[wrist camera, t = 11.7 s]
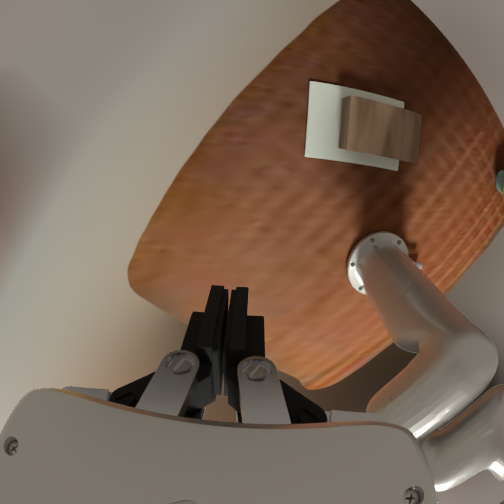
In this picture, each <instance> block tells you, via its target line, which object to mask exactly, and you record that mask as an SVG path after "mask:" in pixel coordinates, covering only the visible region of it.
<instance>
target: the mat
mask: <svg viewBox="0 0 504 504" xmlns="http://www.w3.org/2000/svg"><path fill="white" fill-rule="evenodd" d="M350 95H353V96H357V97H362V98H366V99H370V100H374V101H378V102H382V103H386V104H389V105H393V106H396V107H400V108H403V109H404V102H402V101H399V100H395V99H392V98H389V97H385V96H381V95H378V94H374V93H370V92H366V91H362V90H357V89H353V88H348V87H343V86H338V85H332V84H327V83H320V82H314V81H309V99H308V115H307V129H306V142H305V154H304V157H311V158H319V159H328V160H335V161H342V162H349V163H355V164H362V165H368V166H373V167H379V168H384V169H389V170H394V171H398V165H399V160H397V159H392V158H388V157H383V156H378V155H373V154H367V153H362V152H356V151H350V150H345V149H340V148H339V138H340V126H341V112H342V98H344V97H347V96H350Z"/></svg>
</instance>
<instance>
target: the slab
mask: <svg viewBox="0 0 504 504" xmlns="http://www.w3.org/2000/svg"><path fill="white" fill-rule="evenodd" d="M421 121H422V114H419V113H416V112H413V111H409V110H406V109H403V108H400V107H396V106H393V105H389V104H386V103H382V102H378V101H374V100H370V99H366V98H362V97H357V96H353V95H350V96H347V97H344V98H342V112H341V126H340V138H339V148H340V149H345V150H350V151H356V152H362V153H367V154H373V155H378V156H383V157H388V158H392V159H397V160H401V161H406V162H410V163H414V164H417V161H418V153H419V144H420V134H421Z"/></svg>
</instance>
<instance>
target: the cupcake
mask: <svg viewBox="0 0 504 504" xmlns="http://www.w3.org/2000/svg"><path fill="white" fill-rule="evenodd" d="M496 187H497V189H498V190H499V191H500V192H501V193H502V194H503V197H504V170H501V171H499V172H498V174H497V176H496Z"/></svg>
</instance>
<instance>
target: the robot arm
mask: <svg viewBox="0 0 504 504" xmlns="http://www.w3.org/2000/svg"><path fill="white" fill-rule="evenodd" d="M371 238H372V239H371ZM422 266H423V265H422V262H414V261H413V260H412V259H411V258H410V257H409V253H408V248H407V246H406V244H405V243H404V241H403V240H402V239H401V238H400V237H399V236H397V235H396V234H394V233H391V232H388V231H379V232H375V233H372V234H369V235H368V236H366V237H364V238H363V239H362V240H360V241H359V242H358V243H357V244H356V245H355V247H354V248H353V250H352V251H351V253H350V255H349V258H348V261H347V268H346V270H347V276H348V279H349V281H350V283H351V285H352V286H353V287H354V289H356V290H357V291H358V292H360V293H363V294H367V295H368V297H369V299H370V301H371V302H372V304H373V306H374V308H375V309H376V311H377V313H378V315H379V316H380V318H381V320H382V322H383V324H384V326H385V327H386V329H387V331H388V333H389V335H390V337H391V338H392V340H393V341H394V343H395V344H396V345H397V346H399V347H400V348H402V349H404V350H407V351H409V352H415V353H418V355H417V356H416V357H415V358H414V359H413V360H412V361H411V362H410V363H409V365H408V366H407V367H406V368H405V369H403V370H402V371H401V372H400V373H399V374H398V375H397V376H396V377H395V378H393V379H392V380H391V381H390V382H389V383H388V384H386V385H385V386H384V387H383V388H382V389H381V390H379V391H378V392H377V393H376V394H375V395H374V396H373V398H372V399H371V400H370V402H369V404H368V407H367V413H359V412H346V411H338V410H332V411H331V412H326V411H324V410H323V409H322V408H320V407H319V406H318V405H316V404H315V403H313V402H312V401H310V400H309V399H307V398H306V397H304V396H303V395H302V394H300V393H298V392H297V391H296V390H294V389H293V388H291V387H290V386H289V385H287V384H286V383H284V382H283V381H282V380H280V379H279V376H278V373H277V369H276V366H275V364H274V363H273V362H272V361H271V360H269V359H267V358H265V341H264V316H248V315H247V305H248V287H237V288H236V290H232V292H231V298H230V305H229V312H228V289H224V286H217V285H212V286H211V290H210V294H209V297H208V301H207V305H206V308H205V312H193V313H192V315H191V318H190V321H189V325H188V328H187V331H186V334H185V337H184V340H183V344H182V347H181V350H176V351H173V352H170V353H169V354H167V355H166V356H165V357H164V358H163V360H162V361H161V363H160V365H159V367H158V368H157V370H156V372H153V373H151V374H149V375H147V376H145V377H143V378H141V379H138V380H136V381H134V382H132V383H129V384H128V385H125V386H123V387H121V388H118V389H117V390H115V391H114V392H109V390H108V389H92V388H81V387H72V386H71V387H65V388H63V389H55V388H42V389H36V390H33V391H31V392H29V393H27V394H26V395H25V396H24V397H23V398H22V399H21V400H20V402H19V403H18V405H17V406H16V407H15V409H14V410H13V412H12V413H11V415H10V417H9V419H8V420H7V422H6V424H5V426H4V428H3V430H2V432H1V434H0V504H439V502H438V497H437V493H436V491H445V490H448V489H451V488H453V487H455V486H457V485H459V484H460V483H462V482H464V481H465V480H467V479H468V478H470V477H472V476H474V475H475V474H477V473H478V472H480V471H482V470H485V469H488V470H490V471H491V472H492V474H493V475H494V476H495V477H496V479H497V480H499V481H502V482H504V384H502V385H497V386H495V387H493V388H492V389H490V390H489V391H488V392H486V393H485V394H484V395H483V396H481V397H480V398H479V399H478V400H477V401H476V402H475V403H473V404H472V405H471V406H470V407H469V408H467V409H466V410H465V411H464V412H463V413H462V414H460V415H459V416H458V417H457V418H456V419H454V420H453V421H452V422H450V423H449V424H448V425H447V426H445V427H444V428H442V429H438V428H439V427H441V426H442V425H444V424H445V423H446V422H448V421H449V420H451V419H452V418H453V417H455V416H456V415H457V414H458V413H460V412H461V411H462V410H463V409H464V408H465V407H467V406H468V405H469V404H470V403H471V402H472V401H473V400H474V399H475V398H476V397H478V396H479V395H480V394H481V392H482V391H483V390H484V389H485V388H486V386H487V385H488V384H489V383H490V381H491V379H492V378H493V376H494V374H495V371H496V369H497V365H498V352H497V350H496V347H495V345H494V343H493V342H492V340H491V339H490V338H489V337H488V336H487V335H486V334H485V333H484V332H483V331H482V330H481V329H480V328H479V327H477V326H476V325H475V324H474V323H473V322H471V321H470V320H469V319H468V318H467V317H466V316H465V315H463V314H462V313H461V312H460V311H459V310H458V309H457V308H456V307H455V306H454V305H453V304H452V303H451V302H450V301H449V300H448V299H447V297H446V296H445V295H444V294H443V293H442V292H441V291H440V290H439V289H438V288H437V287H436V286H435V285H434V284H433V282H432V281H431V280H430V279H429V278H428V277H427V276H426V275H425V274H424V273H423V272H422V271H421V270H420V269H422ZM223 373H224V395H225V396H228V404H229V405H230V406H232V407H233V408H234V409H235V410H236V416H237V423H233V422H219V421H210V420H202V418H203V415H204V412H205V406H207V405H208V404H210V403H212V402H213V401H215V399H216V395H221V389H222V380H223ZM499 504H504V500H503V501H502V502H500V503H499Z"/></svg>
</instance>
